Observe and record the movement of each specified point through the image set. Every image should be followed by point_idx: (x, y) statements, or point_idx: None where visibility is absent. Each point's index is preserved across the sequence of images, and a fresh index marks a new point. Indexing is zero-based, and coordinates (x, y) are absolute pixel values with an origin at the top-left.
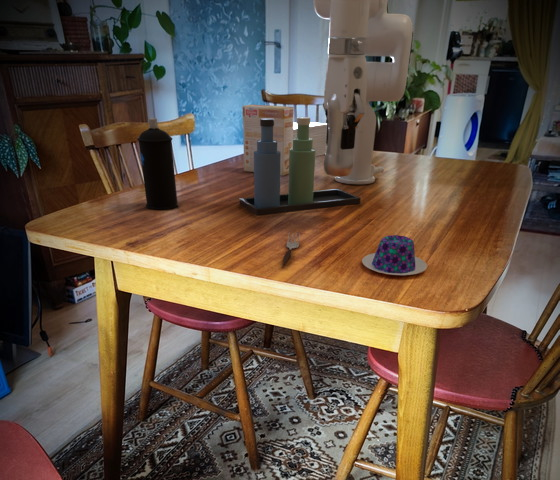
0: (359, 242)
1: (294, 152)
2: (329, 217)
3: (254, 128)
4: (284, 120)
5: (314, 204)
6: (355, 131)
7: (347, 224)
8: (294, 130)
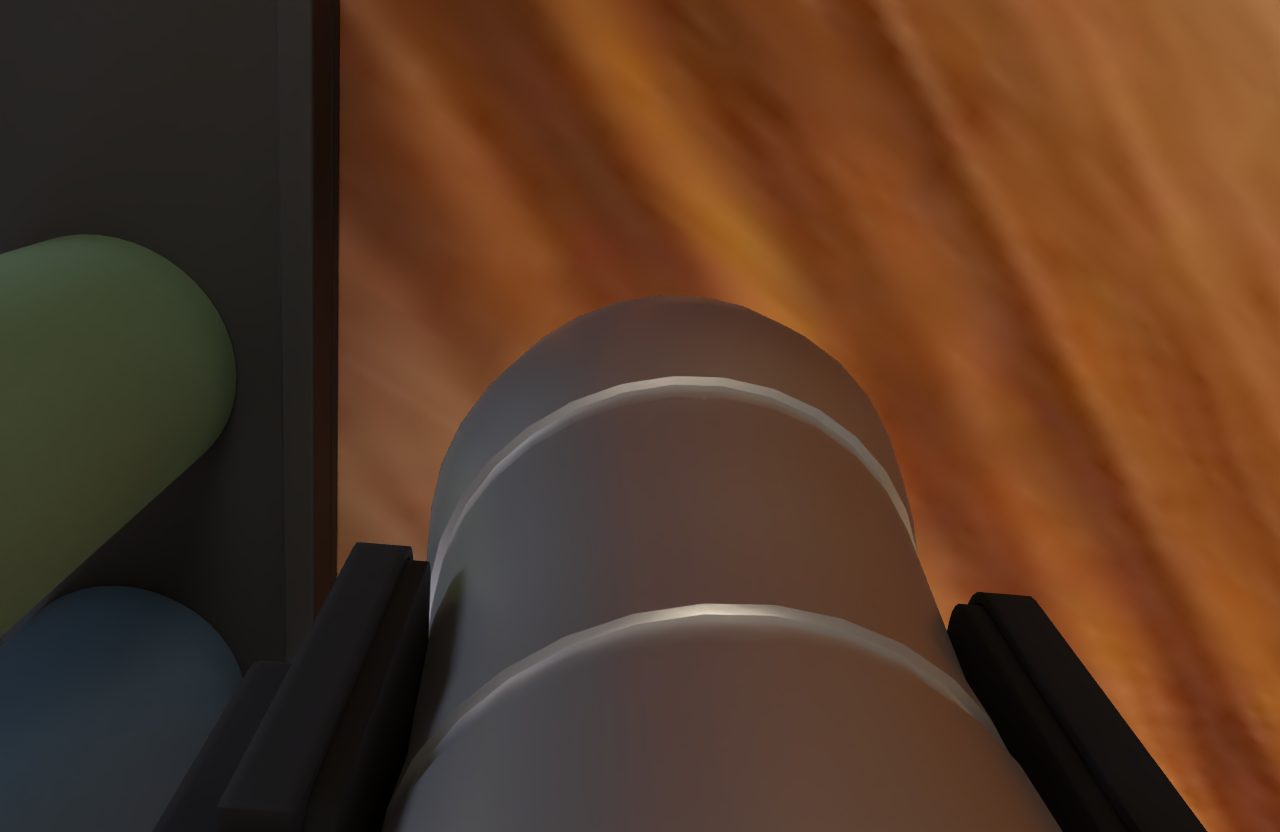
0: (1257, 521)
1: None
2: None
3: None
4: None
5: (319, 356)
6: (1190, 813)
7: (843, 311)
8: None
